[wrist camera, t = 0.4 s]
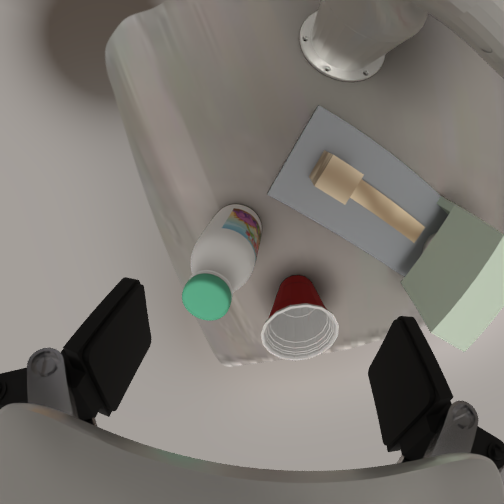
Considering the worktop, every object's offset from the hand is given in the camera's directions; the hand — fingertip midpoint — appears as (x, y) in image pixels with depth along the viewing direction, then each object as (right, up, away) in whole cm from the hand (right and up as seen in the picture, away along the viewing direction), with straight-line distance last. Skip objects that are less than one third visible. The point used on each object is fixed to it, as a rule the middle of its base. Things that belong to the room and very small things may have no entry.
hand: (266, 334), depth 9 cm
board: (+21, +9, +29) cm, 37 cm away
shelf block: (+31, +4, +30) cm, 43 cm away
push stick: (+17, +11, +28) cm, 34 cm away
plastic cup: (+7, -3, +37) cm, 38 cm away
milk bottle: (-3, +7, +33) cm, 34 cm away
